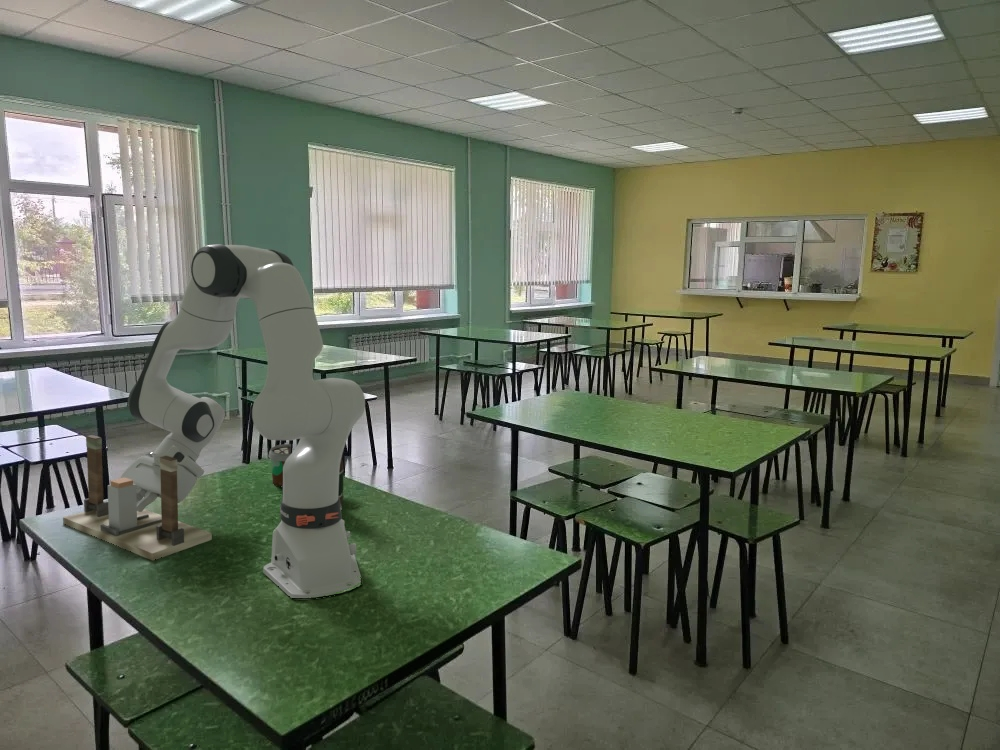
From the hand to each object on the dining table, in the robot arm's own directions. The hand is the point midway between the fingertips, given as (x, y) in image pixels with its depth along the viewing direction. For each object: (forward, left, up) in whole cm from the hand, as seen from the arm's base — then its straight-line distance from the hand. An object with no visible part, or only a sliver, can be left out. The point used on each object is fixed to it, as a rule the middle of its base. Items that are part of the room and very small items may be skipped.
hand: (134, 509), depth 151 cm
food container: (+25, -37, -6) cm, 45 cm away
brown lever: (-12, -6, -2) cm, 14 cm away
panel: (0, 0, -5) cm, 5 cm away
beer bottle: (-3, -43, -6) cm, 44 cm away
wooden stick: (+12, +8, -2) cm, 14 cm away
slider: (-1, +2, -4) cm, 4 cm away
